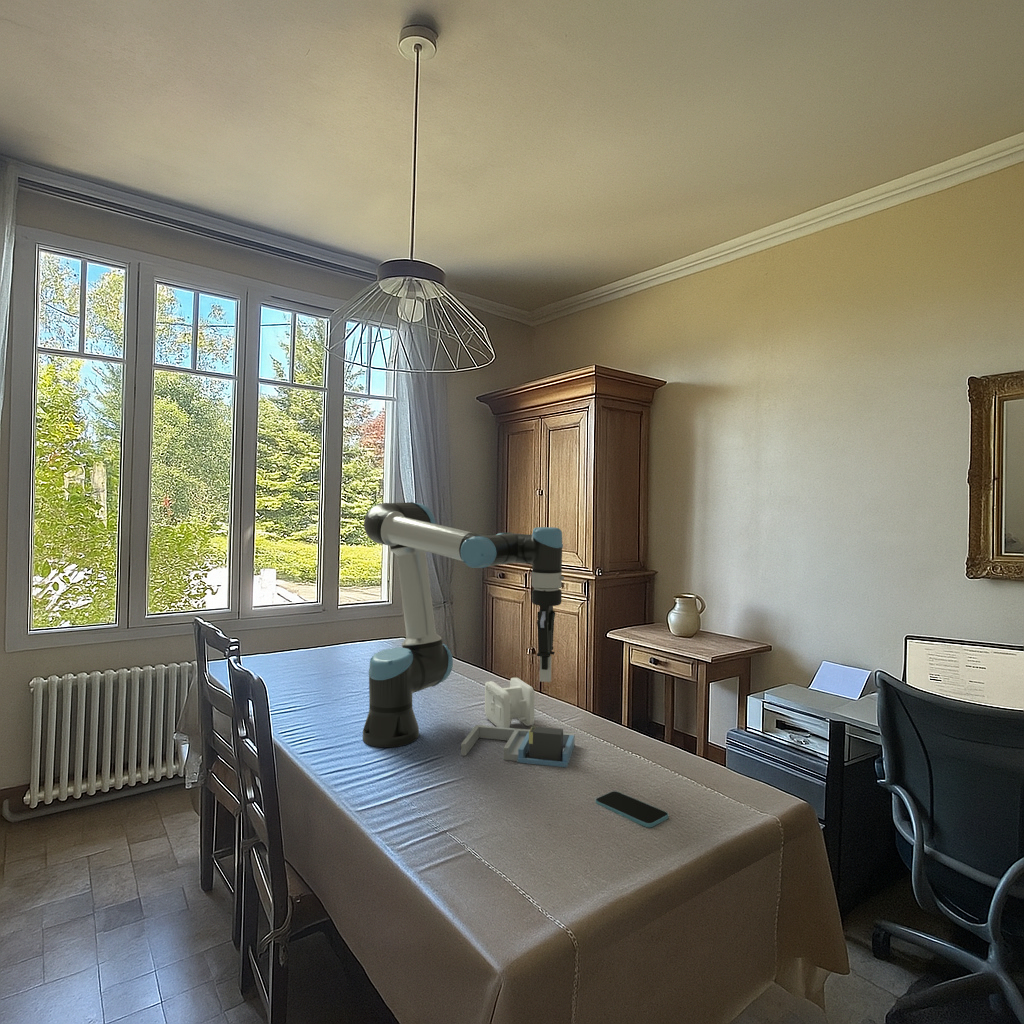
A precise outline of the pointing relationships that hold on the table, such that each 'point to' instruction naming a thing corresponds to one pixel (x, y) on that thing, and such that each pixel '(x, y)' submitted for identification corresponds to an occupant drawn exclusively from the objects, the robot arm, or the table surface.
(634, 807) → the smartphone
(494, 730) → the grey frame
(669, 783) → the table surface
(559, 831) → the table surface
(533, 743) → the yellow-capped grey block
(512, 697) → the cable organizer
